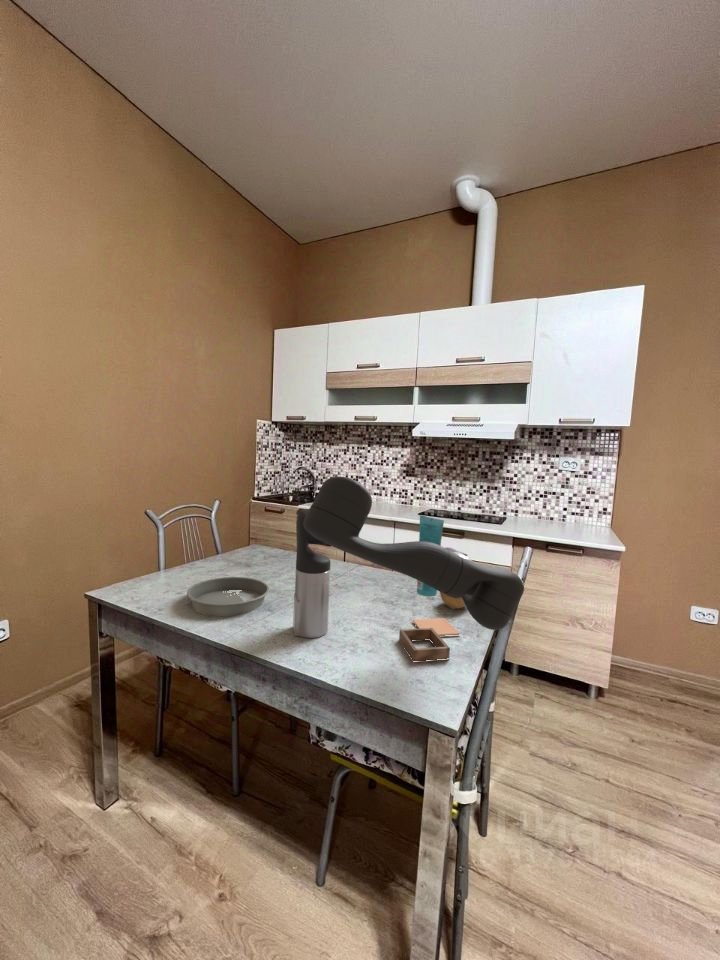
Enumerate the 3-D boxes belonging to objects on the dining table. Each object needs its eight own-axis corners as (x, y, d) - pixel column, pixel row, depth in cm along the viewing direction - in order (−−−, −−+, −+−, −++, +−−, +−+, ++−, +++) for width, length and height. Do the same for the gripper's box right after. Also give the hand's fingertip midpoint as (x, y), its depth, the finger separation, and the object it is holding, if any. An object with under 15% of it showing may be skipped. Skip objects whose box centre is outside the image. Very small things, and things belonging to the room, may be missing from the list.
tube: (444, 595, 101) (449, 519, 100) (433, 600, 98) (438, 520, 96) (419, 587, 106) (424, 514, 105) (408, 591, 103) (413, 516, 101)
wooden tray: (413, 662, 97) (414, 650, 97) (399, 640, 108) (399, 629, 107) (449, 659, 99) (449, 648, 99) (431, 638, 110) (432, 627, 109)
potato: (433, 610, 129) (434, 585, 129) (446, 597, 142) (448, 574, 141) (463, 617, 125) (465, 592, 124) (474, 603, 137) (476, 580, 136)
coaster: (425, 638, 110) (425, 635, 110) (412, 622, 120) (412, 619, 119) (459, 636, 112) (459, 633, 112) (444, 620, 122) (444, 618, 122)
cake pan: (238, 625, 113) (239, 609, 112) (168, 610, 121) (168, 595, 120) (283, 596, 136) (283, 582, 136) (221, 584, 144) (221, 572, 144)
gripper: (486, 552, 89) (451, 534, 105) (424, 552, 86) (399, 534, 102) (483, 585, 89) (449, 563, 106) (422, 587, 86) (397, 564, 103)
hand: (425, 549), depth 104 cm, fingers closed on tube, 4 cm apart
